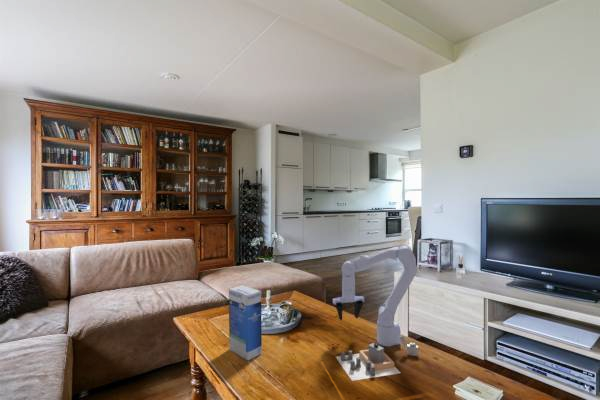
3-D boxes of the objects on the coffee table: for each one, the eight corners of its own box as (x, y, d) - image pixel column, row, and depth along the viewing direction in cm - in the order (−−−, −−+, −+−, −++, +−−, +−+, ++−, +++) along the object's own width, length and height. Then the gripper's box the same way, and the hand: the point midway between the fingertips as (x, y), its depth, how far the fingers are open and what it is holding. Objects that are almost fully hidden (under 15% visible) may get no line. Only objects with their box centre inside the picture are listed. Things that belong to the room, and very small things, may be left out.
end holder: (379, 352, 122) (379, 347, 122) (394, 367, 112) (394, 362, 112) (359, 355, 120) (359, 350, 120) (372, 371, 109) (372, 365, 109)
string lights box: (262, 354, 123) (262, 291, 122) (247, 361, 117) (247, 295, 117) (242, 343, 132) (242, 284, 131) (227, 349, 126) (227, 288, 126)
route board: (378, 352, 124) (378, 343, 124) (400, 375, 108) (401, 364, 108) (335, 358, 119) (335, 349, 119) (352, 383, 104) (352, 372, 104)
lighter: (417, 356, 121) (417, 336, 121) (418, 358, 120) (418, 338, 120) (399, 353, 124) (399, 333, 123) (399, 355, 122) (399, 335, 122)
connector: (373, 357, 118) (373, 340, 118) (383, 363, 114) (383, 345, 114) (368, 360, 117) (368, 342, 117) (378, 366, 113) (378, 347, 112)
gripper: (359, 284, 141) (359, 313, 141) (330, 286, 137) (330, 316, 138) (366, 289, 134) (366, 319, 134) (335, 291, 131) (335, 322, 131)
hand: (348, 318), depth 135 cm, fingers open, 7 cm apart
